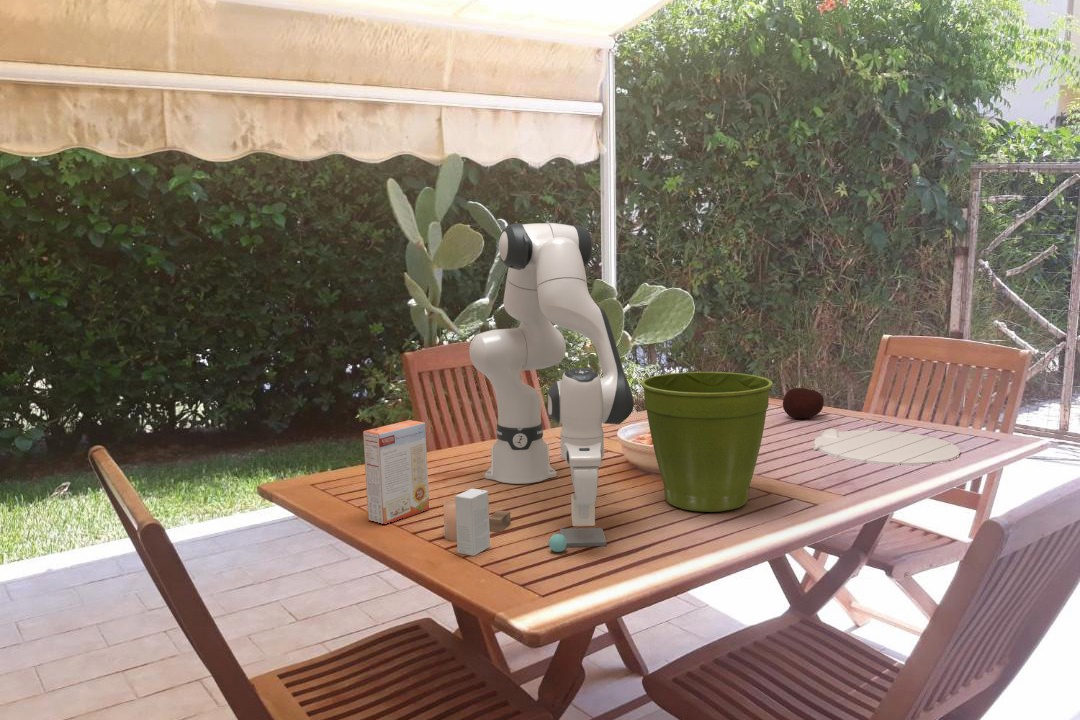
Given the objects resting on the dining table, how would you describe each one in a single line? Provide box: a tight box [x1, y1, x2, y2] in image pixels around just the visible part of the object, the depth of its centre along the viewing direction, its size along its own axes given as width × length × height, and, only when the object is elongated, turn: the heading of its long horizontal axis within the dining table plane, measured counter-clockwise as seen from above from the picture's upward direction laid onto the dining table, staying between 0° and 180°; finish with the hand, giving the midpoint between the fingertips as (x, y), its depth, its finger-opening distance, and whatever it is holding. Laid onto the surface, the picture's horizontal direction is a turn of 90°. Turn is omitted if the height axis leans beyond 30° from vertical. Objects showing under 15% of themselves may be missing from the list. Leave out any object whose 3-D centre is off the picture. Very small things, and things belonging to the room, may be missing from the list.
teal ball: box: [548, 533, 567, 553], centre depth 185 cm, size 4×4×4 cm
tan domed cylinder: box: [443, 499, 457, 543], centre depth 195 cm, size 7×7×7 cm
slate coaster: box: [559, 527, 607, 548], centre depth 192 cm, size 9×9×1 cm
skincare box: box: [454, 488, 491, 557], centre depth 186 cm, size 6×4×12 cm
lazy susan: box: [813, 427, 961, 466], centre depth 266 cm, size 40×39×3 cm
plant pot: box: [640, 371, 773, 513], centre depth 215 cm, size 30×30×29 cm
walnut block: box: [489, 510, 512, 533], centre depth 201 cm, size 6×3×3 cm, turn 161°
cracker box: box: [362, 419, 430, 525], centre depth 209 cm, size 14×6×21 cm, turn 141°
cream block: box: [570, 493, 596, 527], centre depth 191 cm, size 4×4×6 cm
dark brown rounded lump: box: [782, 387, 825, 420], centre depth 306 cm, size 11×13×10 cm
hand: (583, 513), depth 192 cm, fingers closed on cream block, 4 cm apart
